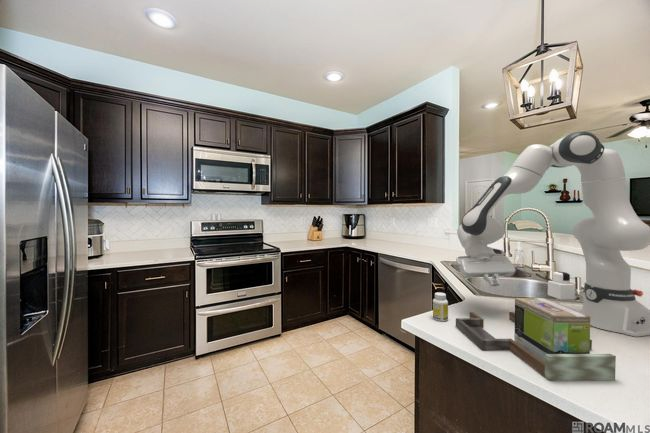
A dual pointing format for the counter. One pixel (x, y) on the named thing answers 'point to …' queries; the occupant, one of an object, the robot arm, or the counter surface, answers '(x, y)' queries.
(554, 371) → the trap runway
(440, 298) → the supplement bottle
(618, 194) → the robot arm
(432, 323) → the counter surface
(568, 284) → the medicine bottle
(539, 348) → the tea box
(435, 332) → the counter surface
